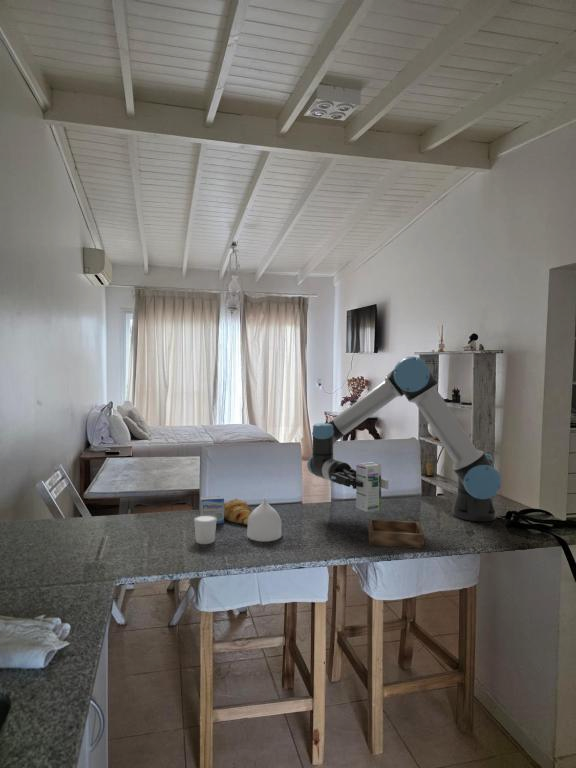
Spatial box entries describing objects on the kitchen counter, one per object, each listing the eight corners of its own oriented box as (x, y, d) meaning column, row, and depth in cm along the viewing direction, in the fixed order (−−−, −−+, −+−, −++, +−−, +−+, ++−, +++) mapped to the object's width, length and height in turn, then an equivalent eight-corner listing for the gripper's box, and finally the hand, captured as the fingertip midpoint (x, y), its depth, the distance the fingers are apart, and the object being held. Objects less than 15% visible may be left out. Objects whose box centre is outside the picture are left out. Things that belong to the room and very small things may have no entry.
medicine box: (200, 525, 169) (200, 499, 169) (199, 521, 173) (199, 496, 173) (224, 523, 171) (224, 498, 171) (222, 520, 175) (222, 495, 175)
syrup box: (366, 512, 155) (367, 465, 154) (355, 507, 160) (355, 462, 160) (381, 510, 157) (382, 464, 157) (370, 505, 163) (370, 461, 162)
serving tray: (418, 534, 163) (418, 521, 163) (423, 548, 150) (424, 534, 150) (368, 531, 165) (368, 519, 165) (369, 545, 152) (370, 531, 152)
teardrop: (265, 527, 167) (266, 492, 167) (288, 536, 160) (289, 498, 159) (239, 535, 160) (240, 497, 159) (262, 544, 152) (263, 504, 152)
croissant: (257, 535, 170) (267, 513, 172) (234, 526, 165) (244, 503, 167) (229, 518, 188) (238, 498, 189) (207, 509, 183) (217, 488, 184)
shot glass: (220, 538, 156) (220, 516, 156) (209, 546, 150) (210, 522, 149) (200, 536, 158) (200, 514, 158) (189, 543, 152) (189, 520, 152)
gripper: (359, 479, 179) (402, 494, 158) (314, 485, 170) (354, 501, 150) (359, 458, 179) (403, 470, 158) (314, 463, 170) (354, 476, 149)
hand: (379, 485), depth 154 cm, fingers closed on syrup box, 6 cm apart
